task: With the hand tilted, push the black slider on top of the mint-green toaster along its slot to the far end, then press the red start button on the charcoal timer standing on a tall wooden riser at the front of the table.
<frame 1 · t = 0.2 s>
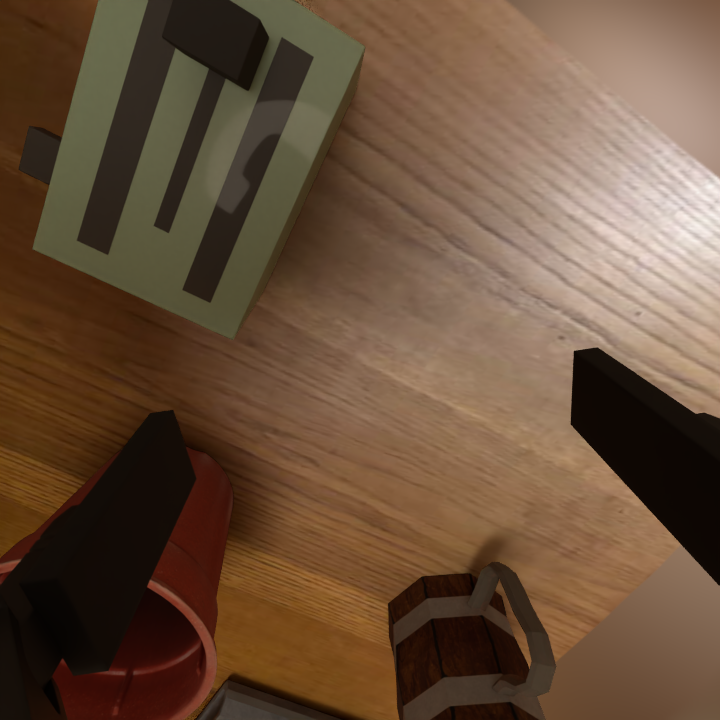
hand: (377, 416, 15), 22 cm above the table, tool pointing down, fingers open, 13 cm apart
mug: (455, 596, 50), on the table
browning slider: (218, 36, 19), point 13 cm above the table, slide at 0.0 cm
flower pot: (170, 490, 43), on the table
toaster: (235, 159, 32), on the table
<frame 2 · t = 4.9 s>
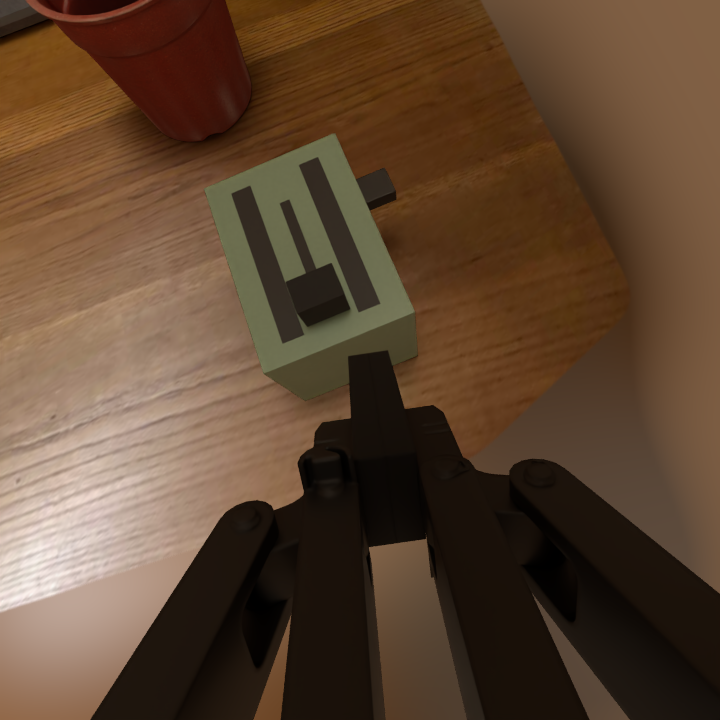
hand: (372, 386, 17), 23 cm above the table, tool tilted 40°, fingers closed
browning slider: (318, 295, 30), point 13 cm above the table, slide at 0.0 cm
flower pot: (203, 101, 52), on the table
toaster: (331, 302, 43), on the table
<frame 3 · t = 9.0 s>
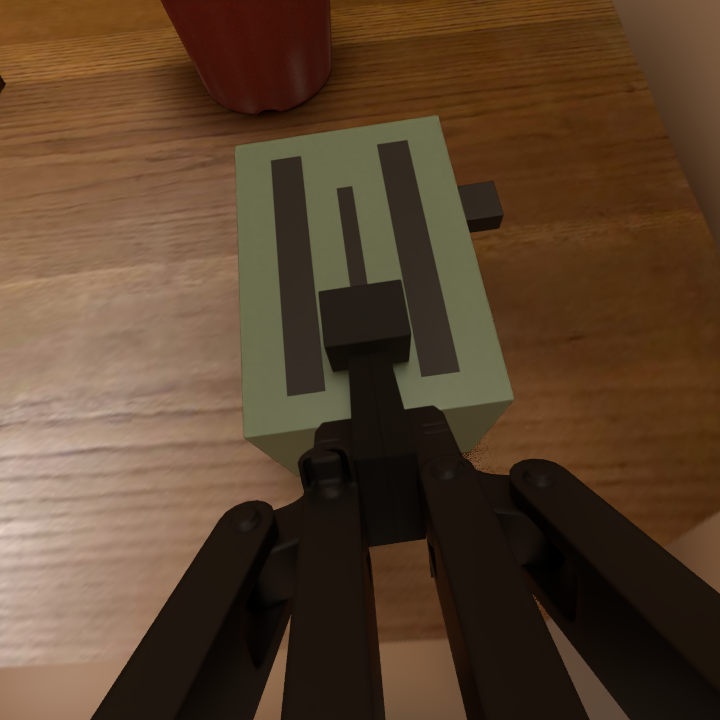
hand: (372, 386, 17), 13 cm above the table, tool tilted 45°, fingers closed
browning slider: (365, 327, 18), point 13 cm above the table, slide at 0.3 cm, touching gripper
flower pot: (269, 73, 43), on the table
toaster: (366, 347, 31), on the table
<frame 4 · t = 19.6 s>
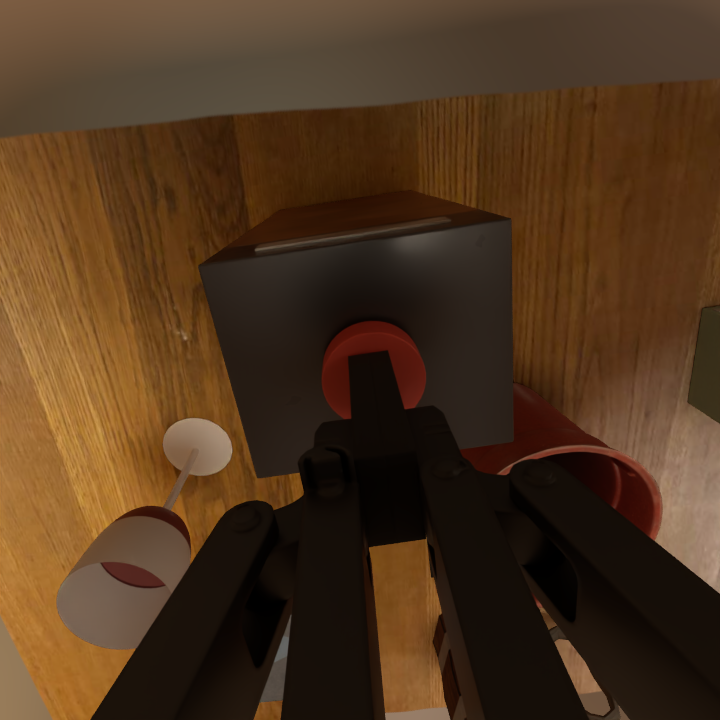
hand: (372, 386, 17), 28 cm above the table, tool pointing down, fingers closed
mug: (500, 624, 64), on the table
timer stand: (353, 255, 43), on the table
timer button: (372, 374, 18), point 27 cm above the table, slide at -0.7 cm, touching gripper
book: (277, 616, 61), on the table
wineglass: (198, 446, 51), on the table
flower pot: (495, 427, 51), on the table
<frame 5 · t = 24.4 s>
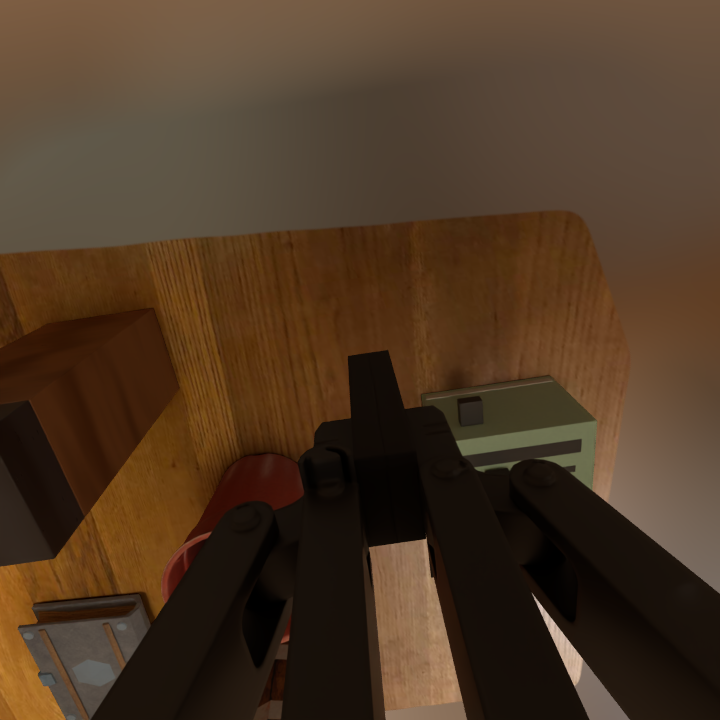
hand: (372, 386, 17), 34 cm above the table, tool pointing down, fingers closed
mug: (311, 650, 73), on the table
timer stand: (115, 356, 52), on the table
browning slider: (500, 489, 47), point 13 cm above the table, slide at 7.4 cm
book: (111, 644, 71), on the table
flower pot: (268, 488, 61), on the table
toaster: (487, 423, 58), on the table
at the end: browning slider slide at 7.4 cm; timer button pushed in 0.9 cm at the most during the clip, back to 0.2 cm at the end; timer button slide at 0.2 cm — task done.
